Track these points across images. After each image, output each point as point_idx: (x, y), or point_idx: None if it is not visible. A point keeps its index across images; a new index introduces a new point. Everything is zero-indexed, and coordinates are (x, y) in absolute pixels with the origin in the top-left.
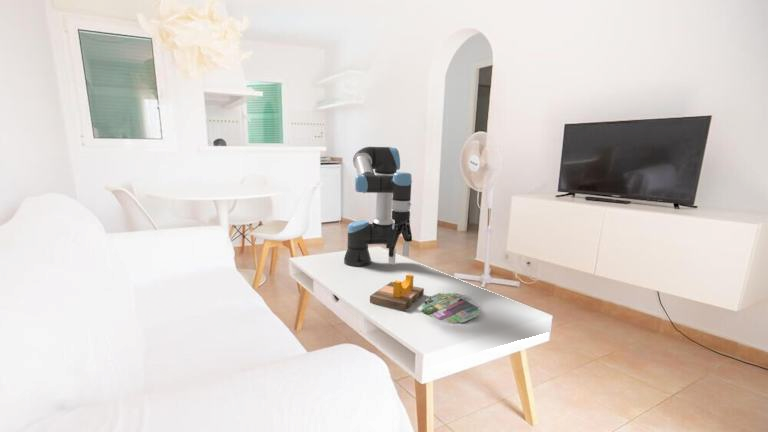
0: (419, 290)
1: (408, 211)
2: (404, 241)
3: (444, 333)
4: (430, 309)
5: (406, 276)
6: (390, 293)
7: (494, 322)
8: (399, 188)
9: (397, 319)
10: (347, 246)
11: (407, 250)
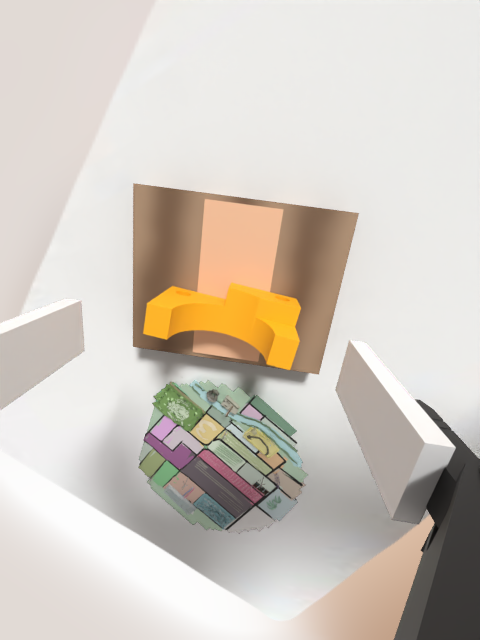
0: None
1: None
2: (415, 462)
3: (76, 454)
4: (174, 412)
5: (273, 335)
6: (199, 264)
7: (196, 540)
8: None
9: None
10: None
11: (355, 417)
